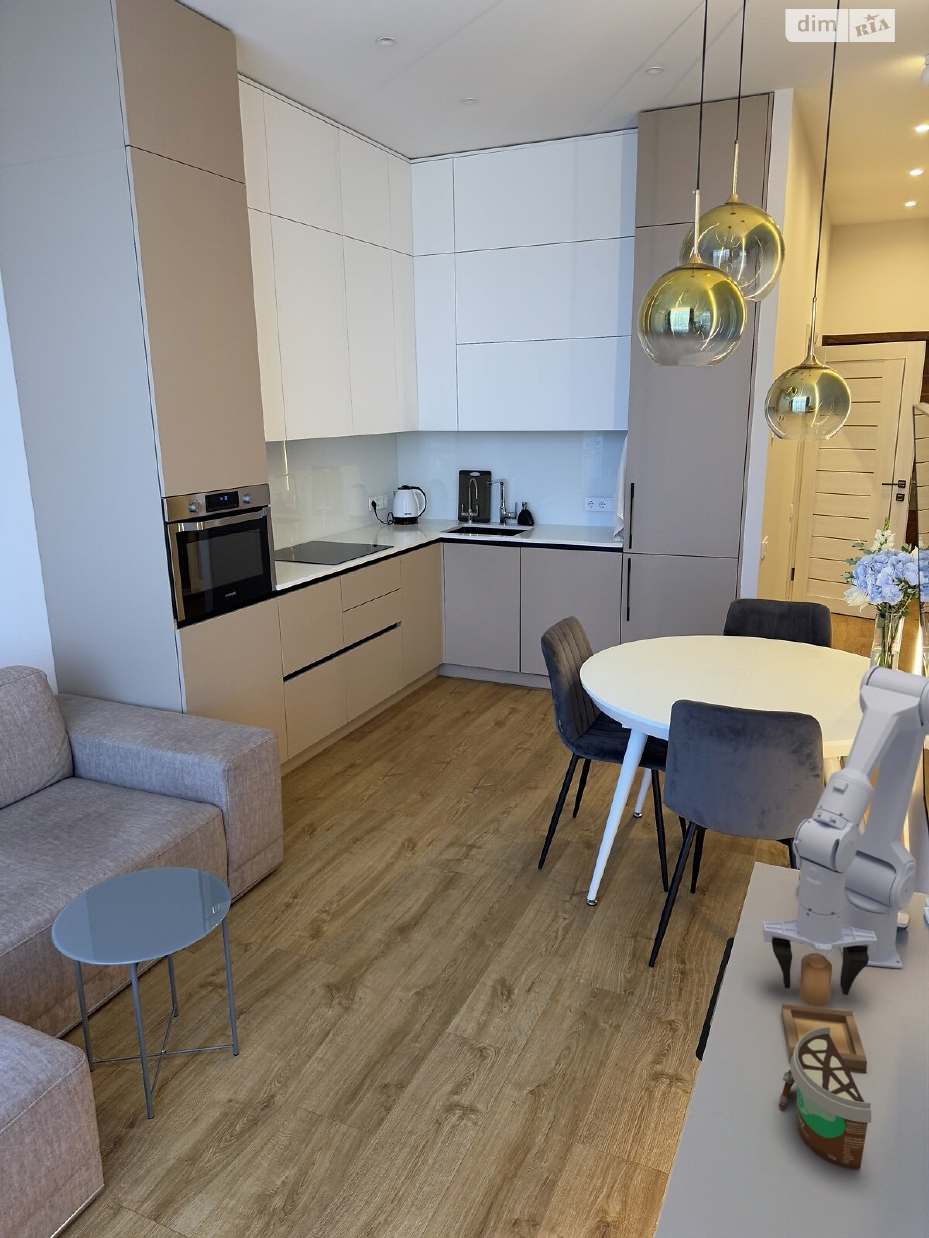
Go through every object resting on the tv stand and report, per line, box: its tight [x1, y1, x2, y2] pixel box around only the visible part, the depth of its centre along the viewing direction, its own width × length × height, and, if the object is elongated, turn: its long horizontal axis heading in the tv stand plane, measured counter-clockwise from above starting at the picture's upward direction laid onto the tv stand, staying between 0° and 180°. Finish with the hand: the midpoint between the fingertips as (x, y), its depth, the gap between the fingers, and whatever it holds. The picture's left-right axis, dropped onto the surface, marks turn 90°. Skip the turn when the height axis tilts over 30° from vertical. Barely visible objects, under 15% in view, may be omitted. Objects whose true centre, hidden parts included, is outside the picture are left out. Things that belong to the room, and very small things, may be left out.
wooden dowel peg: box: [798, 952, 833, 1008], centre depth 120 cm, size 4×4×6 cm
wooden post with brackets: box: [778, 1069, 797, 1109], centre depth 104 cm, size 2×8×4 cm, turn 132°
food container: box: [789, 1027, 872, 1171], centre depth 97 cm, size 12×6×10 cm, turn 178°
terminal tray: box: [781, 1003, 868, 1074], centre depth 112 cm, size 9×9×2 cm
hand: (815, 986), depth 120 cm, fingers open, 7 cm apart
